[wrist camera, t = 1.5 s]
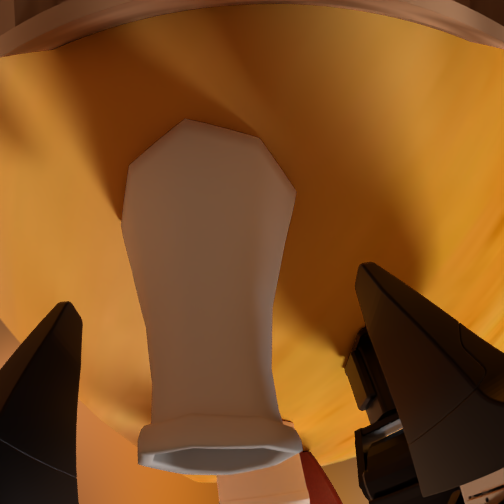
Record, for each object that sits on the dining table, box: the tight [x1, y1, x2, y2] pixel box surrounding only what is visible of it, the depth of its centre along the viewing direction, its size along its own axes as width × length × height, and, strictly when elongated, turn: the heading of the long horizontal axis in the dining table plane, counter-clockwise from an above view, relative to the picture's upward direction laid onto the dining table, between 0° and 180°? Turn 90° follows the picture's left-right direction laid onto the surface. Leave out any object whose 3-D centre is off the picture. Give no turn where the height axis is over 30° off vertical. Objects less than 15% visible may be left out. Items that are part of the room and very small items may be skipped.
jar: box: [217, 421, 310, 504], centre depth 27 cm, size 12×10×15 cm
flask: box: [121, 119, 303, 475], centre depth 9 cm, size 7×7×10 cm
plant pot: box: [299, 452, 343, 504], centre depth 40 cm, size 19×19×17 cm
